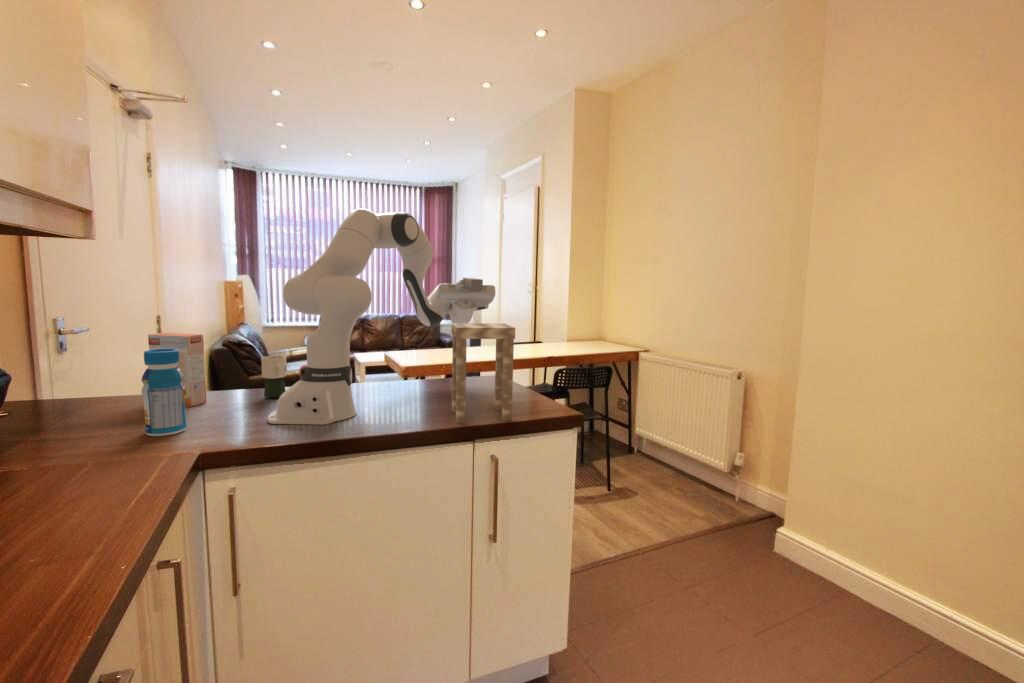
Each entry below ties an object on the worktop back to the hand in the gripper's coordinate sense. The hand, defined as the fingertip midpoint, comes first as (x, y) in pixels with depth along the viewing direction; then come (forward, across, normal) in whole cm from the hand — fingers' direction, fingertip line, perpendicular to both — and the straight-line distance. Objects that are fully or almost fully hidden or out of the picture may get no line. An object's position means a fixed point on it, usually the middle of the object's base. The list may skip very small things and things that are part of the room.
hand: (469, 281), depth 162 cm
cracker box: (-14, -87, +37) cm, 95 cm away
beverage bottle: (+11, -78, +51) cm, 94 cm away
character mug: (-18, -62, +34) cm, 73 cm away
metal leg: (+5, 0, +6) cm, 8 cm away
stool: (+7, 0, +48) cm, 49 cm away
